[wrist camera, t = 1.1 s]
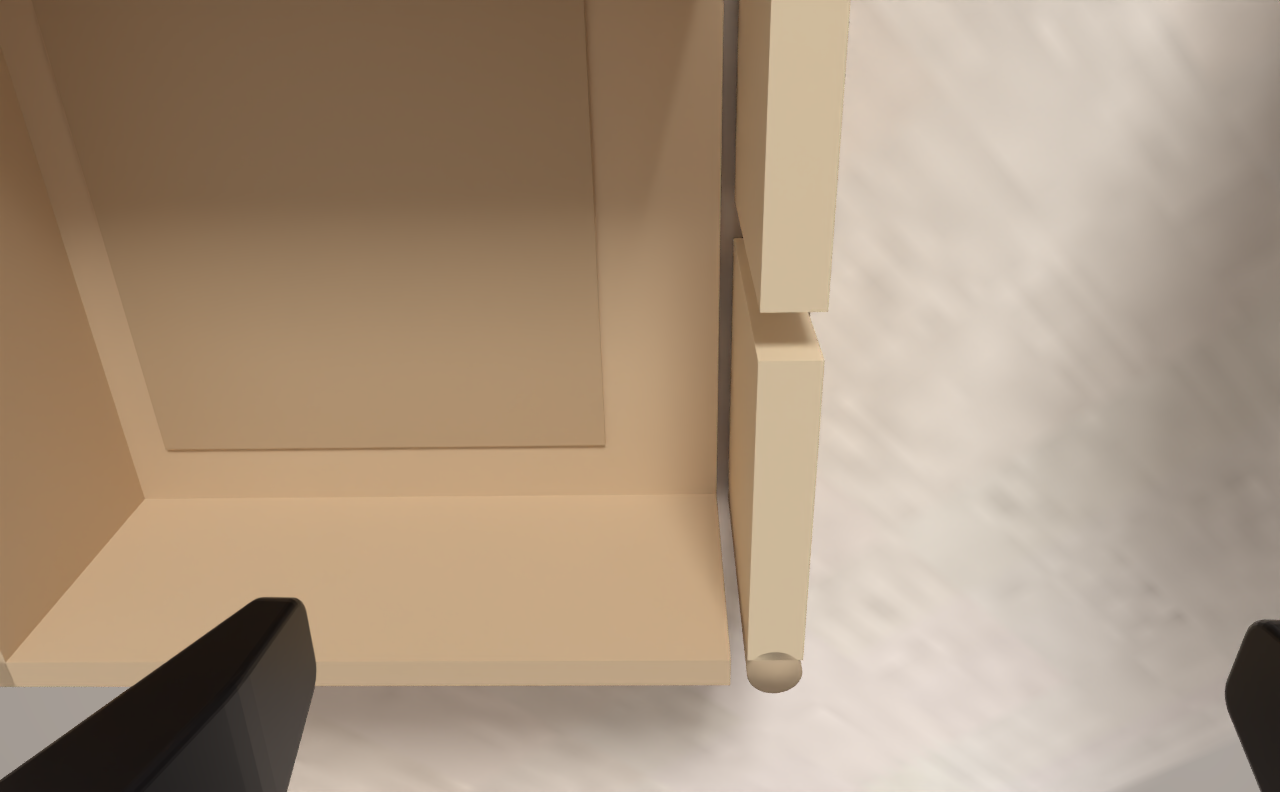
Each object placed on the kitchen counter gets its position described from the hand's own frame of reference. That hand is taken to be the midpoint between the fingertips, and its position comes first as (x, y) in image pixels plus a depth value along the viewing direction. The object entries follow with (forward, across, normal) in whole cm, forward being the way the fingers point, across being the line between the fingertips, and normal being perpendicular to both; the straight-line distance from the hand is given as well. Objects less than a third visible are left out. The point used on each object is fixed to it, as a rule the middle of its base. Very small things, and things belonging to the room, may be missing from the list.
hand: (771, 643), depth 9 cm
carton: (+12, +7, 0) cm, 14 cm away
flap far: (+12, -1, +3) cm, 12 cm away
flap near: (+12, -1, -4) cm, 13 cm away
